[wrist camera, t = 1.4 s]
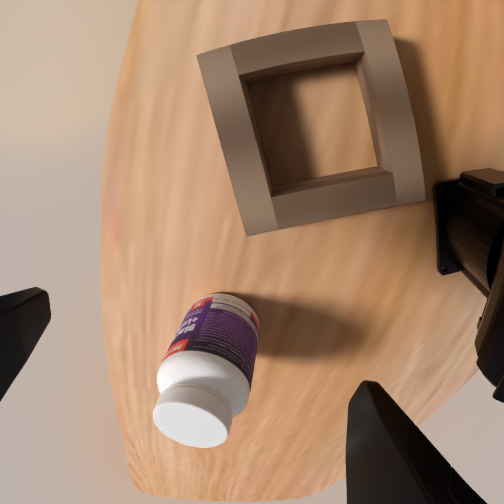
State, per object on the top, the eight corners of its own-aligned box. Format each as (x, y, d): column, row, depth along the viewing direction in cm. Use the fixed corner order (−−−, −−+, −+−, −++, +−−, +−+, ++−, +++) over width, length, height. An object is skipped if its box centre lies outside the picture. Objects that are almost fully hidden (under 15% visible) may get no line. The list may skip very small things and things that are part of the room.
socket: (407, 189, 18) (426, 200, 15) (252, 220, 20) (246, 236, 17) (372, 33, 15) (386, 19, 12) (210, 65, 16) (196, 55, 14)
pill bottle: (197, 280, 22) (144, 377, 13) (271, 306, 22) (258, 415, 13) (181, 336, 24) (136, 433, 15) (246, 359, 24) (226, 464, 15)
